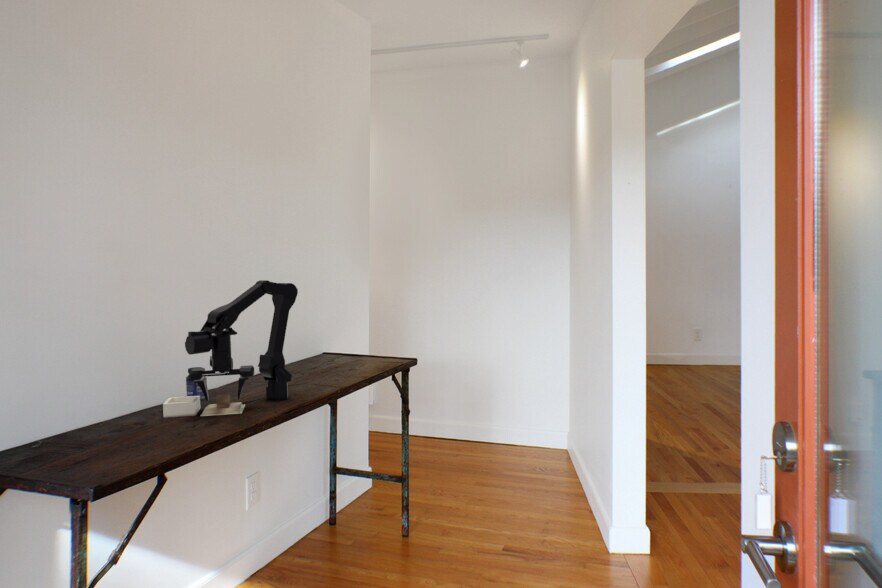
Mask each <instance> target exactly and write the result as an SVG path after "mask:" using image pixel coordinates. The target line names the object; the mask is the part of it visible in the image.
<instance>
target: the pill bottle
mask: <svg viewBox="0 0 882 588" xmlns="http://www.w3.org/2000/svg"><path fill="white" fill-rule="evenodd" d="M194 368H203V367H201V366H198V367H197V366H196V367H195V366H194V367H189V368H187V373H188V375H187V376H186V377H185V385H186V396H200V402H201V401H206V398H205V396H204V394H203V392H202V390H201V388H200V387H199V385H198V384H197V383H194V380H189V372H190V371H191V370H192V369H194Z"/></svg>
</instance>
